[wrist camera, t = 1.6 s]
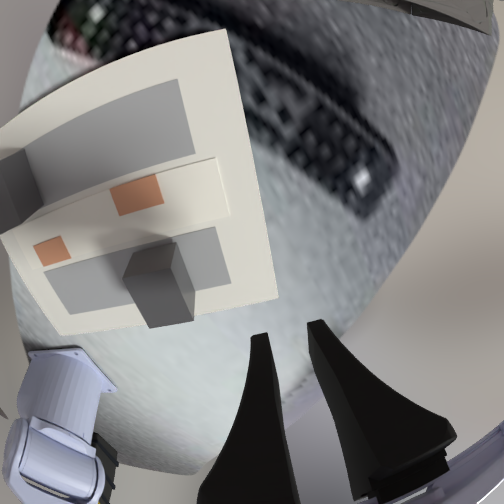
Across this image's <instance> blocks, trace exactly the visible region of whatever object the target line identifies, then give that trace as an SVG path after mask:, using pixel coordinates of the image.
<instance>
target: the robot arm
mask: <svg viewBox="0 0 504 504" xmlns="http://www.w3.org/2000/svg"><path fill="white" fill-rule="evenodd" d="M307 330H308V344H309V354H310V357H311V361H312V364H313V368H314V371H315V374H316V377H317V379H318V382H319V384H320V386H321V389H322V391H323V394H324V396H325V399H326V401H327V404H328V406H329V408H330V411H331V413H332V416H333V419H334V422H335V426H336V429H337V433H338V436H339V440H340V444H341V448H342V452H343V456H344V460H345V464H346V468H347V473H348V478H349V481H350V487H351V492H352V496H353V500H354V501H356V500H359V499H362V498H365V497H368V500H366V501H363V502H360V503H357V504H393V503H395V502H397V501H399V500H401V499H404V498H406V497H408V496H410V495H412V494H414V493H416V492H418V491H420V490H422V489H424V488H426V487H427V490H426V492H425V493H423V494H420V495H418V496H416V497H413V498H411V499H410V500H407V501H405V502H403V503H401V504H478V503H479V502H481V501H482V500H483V499H484V498H485V497H486V496H487V495H488V494H490V493H491V492H492V491H493V490H494V489H495V488H496V487H497V486H498V485H499V484H500V483H501V482H502V481H503V480H504V421H502V422H501V423H500V424H499V425H498V426H497V427H496V428H494V429H493V430H492V431H491V432H489V433H488V434H487V435H486V436H484V437H483V438H482V439H480V440H479V441H478V442H476V443H475V444H473V445H472V446H471V447H469V448H468V449H466V450H465V451H463V452H462V453H460V454H459V455H457V456H456V457H454V458H452V459H451V460H449V461H446V459H445V456H447V453H446V451H445V448H446V447H447V446H449V445H450V444H451V443H452V442H453V441H454V440H456V438H457V435H456V432H455V430H454V428H453V427H452V426H451V424H450V423H449V421H448V420H447V419H446V418H444V417H442V416H439V415H437V414H435V413H433V412H431V411H428V410H426V409H425V408H423V407H421V406H419V405H417V404H415V403H414V402H412V401H410V400H409V399H407V398H406V397H404V396H402V395H401V394H399V393H398V392H396V391H394V390H393V389H392V388H391V387H389V386H388V385H386V384H385V383H384V382H383V381H381V380H380V379H379V378H377V377H376V376H375V375H374V374H373V373H371V372H370V371H369V370H368V369H367V368H366V367H365V366H364V365H363V364H362V363H361V362H360V361H359V360H357V359H356V358H355V357H354V355H353V354H352V353H351V352H350V351H349V350H348V349H347V348H346V347H345V346H344V345H343V344H342V343H341V342H340V340H339V339H338V338H337V337H336V336H335V335H334V333H333V332H332V331H331V330H330V328H329V327H328V326H327V324H326V323H325V322H324V320H322V319H319V320H316V321H312V322H308V323H307ZM28 355H29V357H30V358H31V359H32V360H31V362H30V365H29V367H28V370H27V372H26V374H25V377H24V380H23V382H22V385H21V388H20V390H19V393H18V396H17V408H18V412H19V415H20V417H21V418H19V419H16V420H15V421H14V422H13V424H12V426H11V428H10V431H9V434H8V437H7V440H6V444H5V450H4V462H3V468H2V474H3V476H4V480H5V482H6V484H7V485H8V487H9V488H10V489H11V491H12V492H13V493H14V494H15V496H16V497H17V498H18V499H19V501H20V502H21V503H22V504H98V501H99V498H100V496H101V494H102V492H103V489H104V485H105V472H104V468H103V466H102V463H101V461H100V459H99V458H98V457H97V456H96V455H95V453H96V448H94V447H92V446H91V440H92V434H93V429H94V423H95V418H96V413H97V408H98V403H99V398H100V394H101V392H117V388H116V387H115V386H114V385H113V383H112V382H111V381H110V380H109V379H108V378H107V377H106V376H105V375H104V374H103V373H102V371H101V370H100V369H99V368H98V367H97V366H96V365H95V364H94V362H93V361H92V360H91V359H90V358H89V356H88V355H87V354H86V353H85V352H84V350H83V349H81V348H70V349H57V350H42V351H29V352H28ZM21 475H22V476H23V477H25V478H28V479H29V480H32V481H34V482H36V483H38V484H40V485H42V486H44V487H47V488H49V489H51V490H54V491H56V492H59V493H62V494H64V495H66V496H69V498H64V497H60V496H58V495H55V494H53V493H50V492H48V491H46V490H43V489H41V488H39V487H37V486H35V485H32V484H30V483H28V482H26V481H24V480H23V479H22V477H21ZM197 504H301V503H300V499H299V494H298V490H297V486H296V481H295V477H294V472H293V468H292V464H291V459H290V455H289V450H288V445H287V441H286V436H285V430H284V424H283V415H282V406H281V397H280V389H279V381H278V377H277V372H276V368H275V363H274V359H273V354H272V350H271V346H270V341H269V337H268V333H267V332H266V333H261V334H257V335H253V336H252V337H251V350H250V360H249V367H248V372H247V378H246V383H245V387H244V391H243V395H242V399H241V402H240V406H239V409H238V412H237V415H236V418H235V420H234V423H233V426H232V428H231V431H230V433H229V435H228V438H227V440H226V442H225V444H224V446H223V448H222V450H221V452H220V454H219V456H218V458H217V460H216V462H215V464H214V465H213V467H212V469H211V471H210V472H209V474H208V475H207V477H206V478H205V480H204V481H203V483H202V484H201V486H200V488H199V492H198V497H197Z"/></svg>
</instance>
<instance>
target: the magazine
mask: <svg viewBox="0 0 504 504" xmlns="http://www.w3.org/2000/svg"><path fill="white" fill-rule="evenodd" d="M91 446H92V447H94V448H96V453H95V455H96V456H97V457H98V458H99V459H100V461H101V463H102V466H103V468H104V472H105V485H104V489H103V492H102V494H101V496H100V498H99V501H98V504H110V503H109V500H110V496H111V491H112V489H115V485H114V483H113V482H114V476H115V469H116V467H118V465H119V462H118V461H117V451H116V450H115V449H113V448H112V447H111V446H110V445H109V444H108V443H107V442H106V441H105V440H104V439H103V438H102V437H101V436H100V435H99V434H97V433H93V434H92V440H91Z"/></svg>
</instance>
